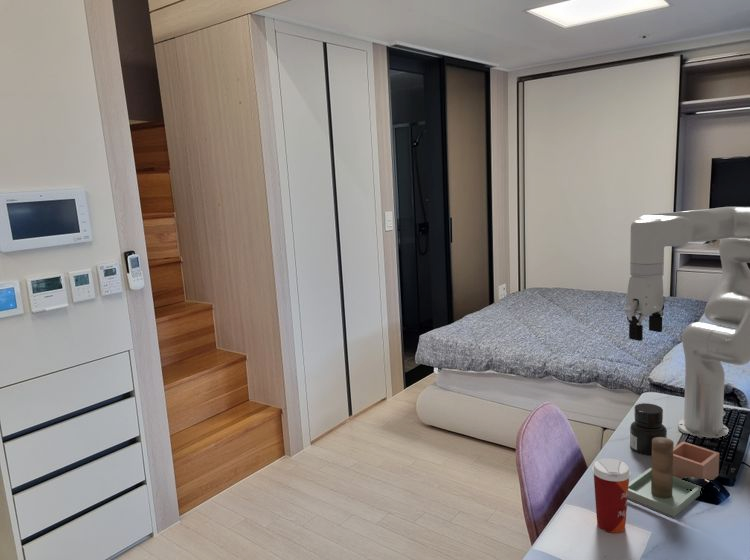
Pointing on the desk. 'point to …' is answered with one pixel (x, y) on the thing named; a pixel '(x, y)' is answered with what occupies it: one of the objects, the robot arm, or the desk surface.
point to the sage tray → (671, 506)
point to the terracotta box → (695, 462)
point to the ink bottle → (646, 428)
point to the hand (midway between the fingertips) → (645, 335)
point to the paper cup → (611, 494)
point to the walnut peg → (662, 467)
